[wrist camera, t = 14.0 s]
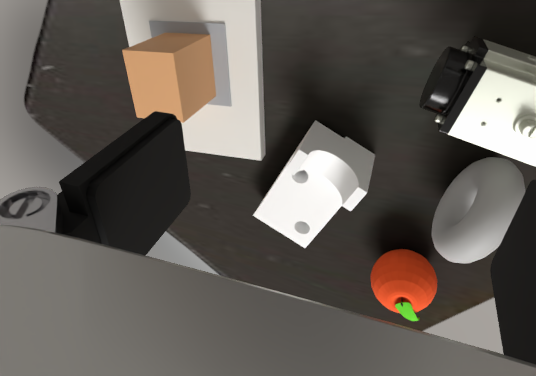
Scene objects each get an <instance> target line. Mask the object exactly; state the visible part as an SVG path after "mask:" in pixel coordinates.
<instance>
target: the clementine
mask: <svg viewBox="0 0 536 376" xmlns="http://www.w3.org/2000/svg"><path fill="white" fill-rule="evenodd" d="M371 287H372V289H373V291H374V294H375V296H376V298H377V299H378V300H379V301H380V302H381V303H382V304H383V305H384V306H385V307H386V308H388V309H390V310H392V311H394V312H397V313H401V314H402V315H403V316H404V317H405V318H407V319H409V320H411V321H417V320H420V316H419V317H418V318H417V317H416V315H415V312H418V311H420V310H422V309H424V308H425V307H427V306H428V305H429V304H430V303H431V301H432V300H433V298H434V296H435V294H436V290H437V278H436V274H435V271H434V268H433V267H432V266H431V264H430V263H429V262H428V260H427V259H426V258H425V257H423V256H422V255H420V254H418V253H416V252H414V251H411V250H407V249H397V250H392V251H389V252H387V253H385V254H384V255H382V256H381V257H380V258H379V259H378V260H377V261H376V263H375V264H374V266H373V269H372V273H371Z"/></svg>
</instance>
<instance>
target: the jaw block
mask: <svg viewBox="0 0 536 376" xmlns="http://www.w3.org/2000/svg"><path fill="white" fill-rule="evenodd" d="M122 51H123V56H124V60H125V65H126V70H127V74H128V79H129V83H130V88H131V92H132V97H133V101H134V106H135V111H136V115H137V117H138V118H146V117H147V116H149V115H150V114H151V113H153V112H155V111H158V112H164V113H170V114H174V115H175V116H176V118H177V120H180V122H182V123H184V122H185V121H186V120H188V119H189V118H190V117H191V116H192V115H194V114H195V113H196V112H197V111H199V110H200V109H201V108H202V107H203V106H205V105H206V104H207V103H208V102H210V101H211V100H212V99H213V98H214V97H216V88H215V78H214V68H213V58H212V48H211V38H210V34H188V33H166V32H165V33H163V34H160V35H158V36H156V37H153V38H151V39H148V40H146V41H143V42H141V43H138V44H136V45H134V46H131V47H129V48H126V49H124V50H122Z"/></svg>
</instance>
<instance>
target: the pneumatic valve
mask: <svg viewBox="0 0 536 376" xmlns="http://www.w3.org/2000/svg"><path fill="white" fill-rule="evenodd" d="M420 107H421V108H423V109H425V110H428V111H431V112H434V113H437V116H436V118H435V122H437V123H438V128H439V132H442V133H445V134H448V135H450V136H453V137H456V138H459V139H461V140H464V141H467V142H470V143H472V144H475V145H478V146H480V147H483V148H486V149H489V150H491V151H494V152H497V153H500V154H502V155H505V156H508V157H511V158H513V159H516V160H519V161H522V162H524V163H527V164H530V165H533V166H535V167H536V57H535V56H532V55H529V54H526V53H523V52H520V51H517V50H514V49H511V48H508V47H505V46H502V45H499V44H496V43H493V42H490V41H487V40H484V39H481V38H478V37H475V36H474V37H473V39H472V41H471V42H467V44H466V45H465V46H464V45H463V46H462V48H461V50H459V49H456V48H453V47H447V48H446V49H445V50H444V51H443V53H442V54H441V56H440V57H439V59H438V61H437V62H436V64H435V66H434V68H433V70H432V72H431V74H430V76H429V78H428V80H427V83H426V85H425V88H424V90H423V93H422V96H421V100H420Z"/></svg>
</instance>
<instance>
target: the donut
mask: <svg viewBox="0 0 536 376" xmlns="http://www.w3.org/2000/svg"><path fill="white" fill-rule="evenodd" d="M524 194H525V186H524V180H523V175H522V173H521V172H520V171H519V169H518V168H517V167H516V166H515V165H514V164H513V163H512V162H510V161H509V160H506V159H503V158H497V157H487V158H484V159H481V160H479V161H476V162H473V163H472V164H471V165H469V166H468V167H467V168H465V169H464V170H463V171H462V172H461V173H460V174H459V175H458V176H457V177H456V178H455V179H454V180H453V182H452V183H451V184H450V186H449V187H448V188H447V190H446V191H445V193H444V195H443V197H442V198H441V200H440V202H439V205H438V207H437V209H436V212H435V216H434V219H433V224H432V239H433V243H434V246H435V248H436V250H437V251H438V252H439V253H440V254H441V255H442V256H443V257H444V258H445V259H447V260H448V261H451V262H455V263H471V262H474V261H476V260H479V259H482V258H484V257H486V256H487V255H489V254H490V253H491V252H493V251H494V250H495V249H497V247H498V246H499V245H500V244H501V242H502V240H503V238H504V235H505V233H506V231H507V229H508V227H509V225H510V223H511V221H512V219H513V217H514V215H515V213H516V211H517V209H518V207H519V204H520V202H521V200H522V198H523V196H524Z"/></svg>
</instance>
